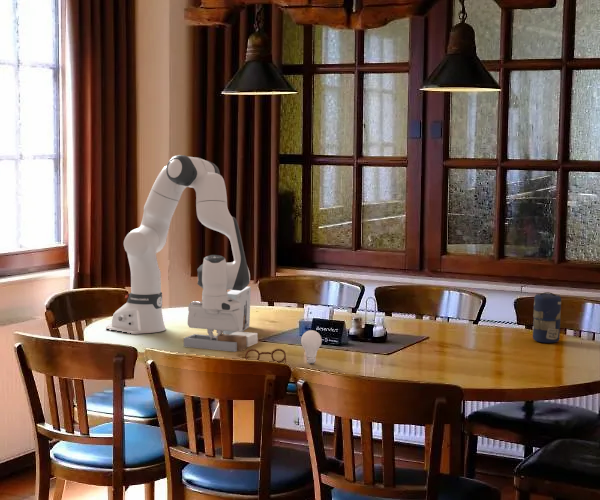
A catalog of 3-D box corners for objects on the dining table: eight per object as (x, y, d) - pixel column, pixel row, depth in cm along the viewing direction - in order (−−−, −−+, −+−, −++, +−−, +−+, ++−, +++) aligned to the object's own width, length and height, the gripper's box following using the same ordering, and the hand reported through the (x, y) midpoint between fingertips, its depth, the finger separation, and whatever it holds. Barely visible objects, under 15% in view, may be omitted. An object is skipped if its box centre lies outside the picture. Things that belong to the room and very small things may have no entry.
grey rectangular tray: (183, 346, 357) (183, 338, 357) (194, 342, 364) (194, 334, 364) (235, 351, 349) (235, 343, 349) (245, 347, 357) (245, 338, 356)
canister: (537, 338, 377) (539, 289, 375) (563, 340, 372) (564, 291, 370) (529, 342, 369) (530, 292, 367) (555, 345, 364) (556, 295, 362)
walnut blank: (217, 348, 354) (217, 335, 354) (223, 346, 358) (222, 333, 357) (241, 350, 351) (241, 338, 350) (246, 348, 354) (246, 335, 354)
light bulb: (296, 363, 332) (296, 330, 330) (311, 360, 336) (311, 327, 335) (311, 367, 327) (311, 333, 326) (325, 364, 332) (326, 330, 330)
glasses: (285, 363, 334) (285, 348, 334) (287, 372, 321) (287, 356, 321) (245, 363, 334) (245, 348, 333) (245, 372, 321) (245, 357, 320)
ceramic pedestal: (227, 345, 360) (227, 335, 360) (237, 341, 367) (237, 331, 367) (247, 347, 357) (247, 337, 357) (257, 342, 364) (257, 333, 364)
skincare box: (236, 337, 374) (236, 294, 372) (222, 336, 375) (222, 293, 374) (251, 326, 395) (251, 285, 393) (237, 326, 396) (237, 285, 394)
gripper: (184, 302, 356) (184, 341, 358) (236, 306, 348) (237, 346, 350) (192, 299, 362) (193, 338, 363) (245, 303, 354) (245, 342, 355)
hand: (215, 342), depth 357 cm, fingers closed
